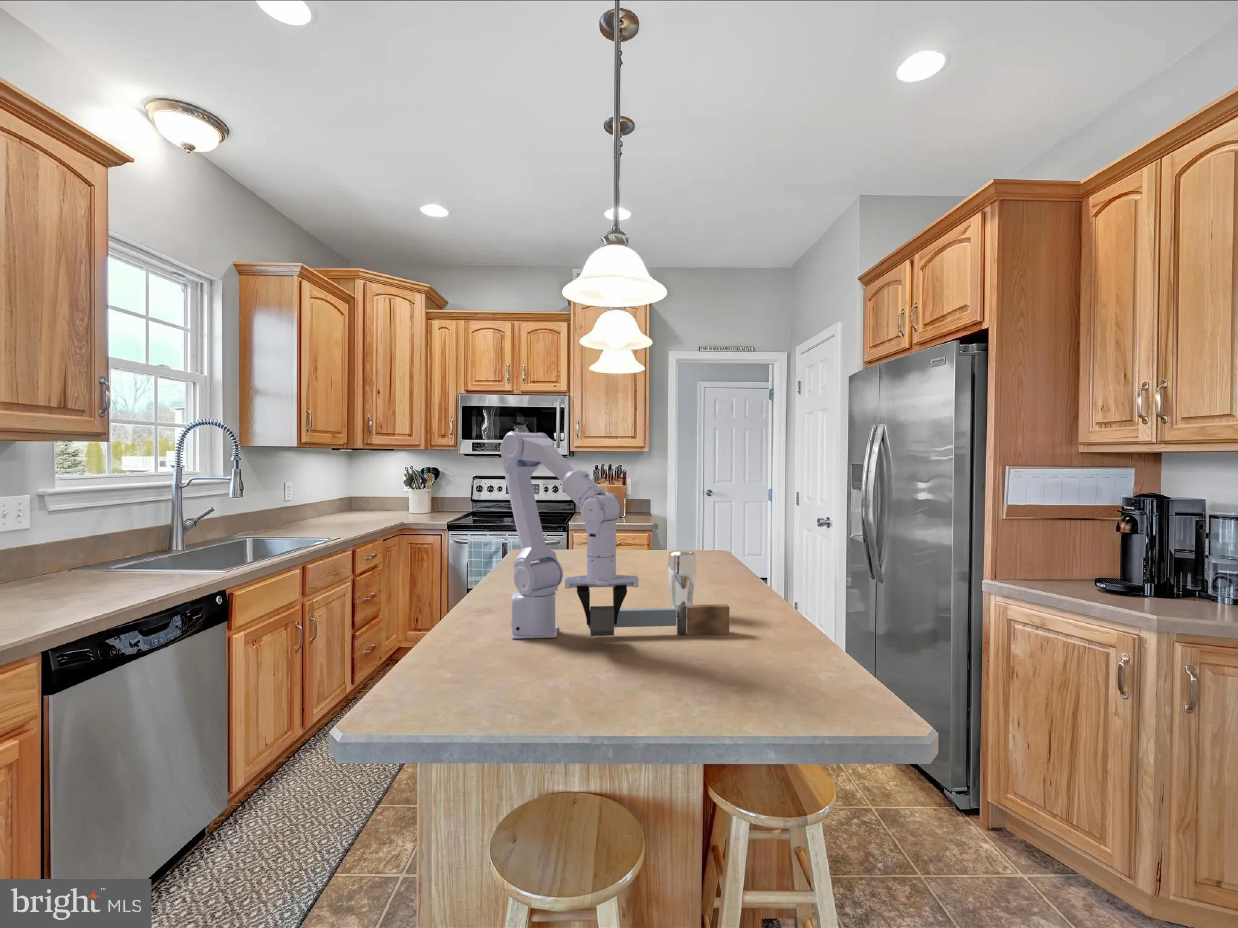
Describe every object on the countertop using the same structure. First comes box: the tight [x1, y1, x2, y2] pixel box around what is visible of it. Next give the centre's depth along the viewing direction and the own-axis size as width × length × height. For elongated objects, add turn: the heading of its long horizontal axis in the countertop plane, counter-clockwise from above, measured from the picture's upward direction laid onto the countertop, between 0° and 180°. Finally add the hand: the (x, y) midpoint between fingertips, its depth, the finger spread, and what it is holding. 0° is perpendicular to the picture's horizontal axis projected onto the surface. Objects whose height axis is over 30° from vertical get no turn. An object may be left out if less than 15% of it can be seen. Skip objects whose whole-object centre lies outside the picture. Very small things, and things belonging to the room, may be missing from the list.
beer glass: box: [667, 550, 697, 619], centre depth 140 cm, size 7×7×15 cm
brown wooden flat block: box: [676, 603, 730, 636], centre depth 125 cm, size 11×2×6 cm, turn 95°
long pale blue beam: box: [587, 607, 677, 629], centre depth 124 cm, size 19×2×4 cm, turn 95°
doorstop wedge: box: [589, 605, 615, 637], centre depth 116 cm, size 10×4×5 cm, turn 5°
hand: (601, 623), depth 114 cm, fingers closed on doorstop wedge, 4 cm apart
